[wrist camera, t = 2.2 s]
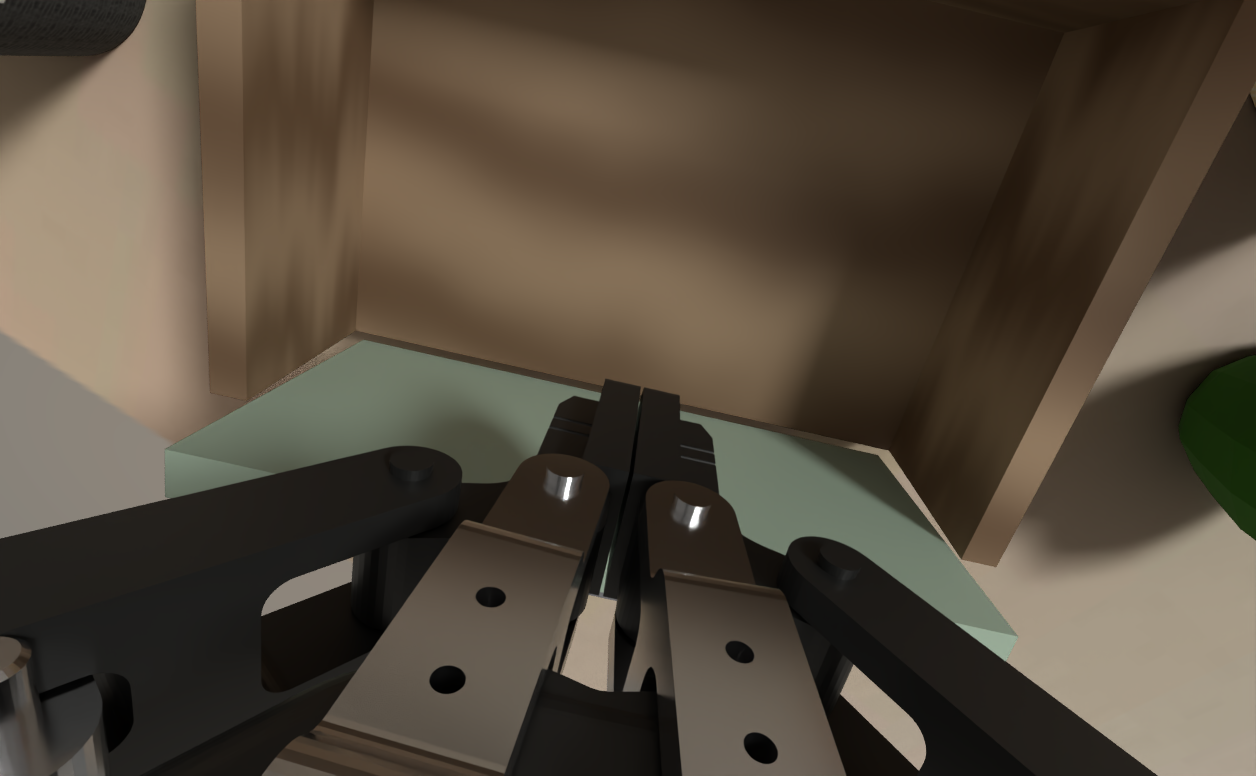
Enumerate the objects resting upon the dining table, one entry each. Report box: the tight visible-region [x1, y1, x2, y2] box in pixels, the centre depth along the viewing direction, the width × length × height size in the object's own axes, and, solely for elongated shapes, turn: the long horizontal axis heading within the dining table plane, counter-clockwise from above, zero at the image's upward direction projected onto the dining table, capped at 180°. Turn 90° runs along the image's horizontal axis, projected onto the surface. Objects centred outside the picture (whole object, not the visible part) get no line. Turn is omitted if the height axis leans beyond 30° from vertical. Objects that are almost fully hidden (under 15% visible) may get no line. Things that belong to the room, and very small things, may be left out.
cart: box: [196, 0, 1256, 567], centre depth 19 cm, size 15×25×9 cm, turn 78°
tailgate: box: [165, 340, 1018, 661], centre depth 19 cm, size 2×19×10 cm, turn 78°
